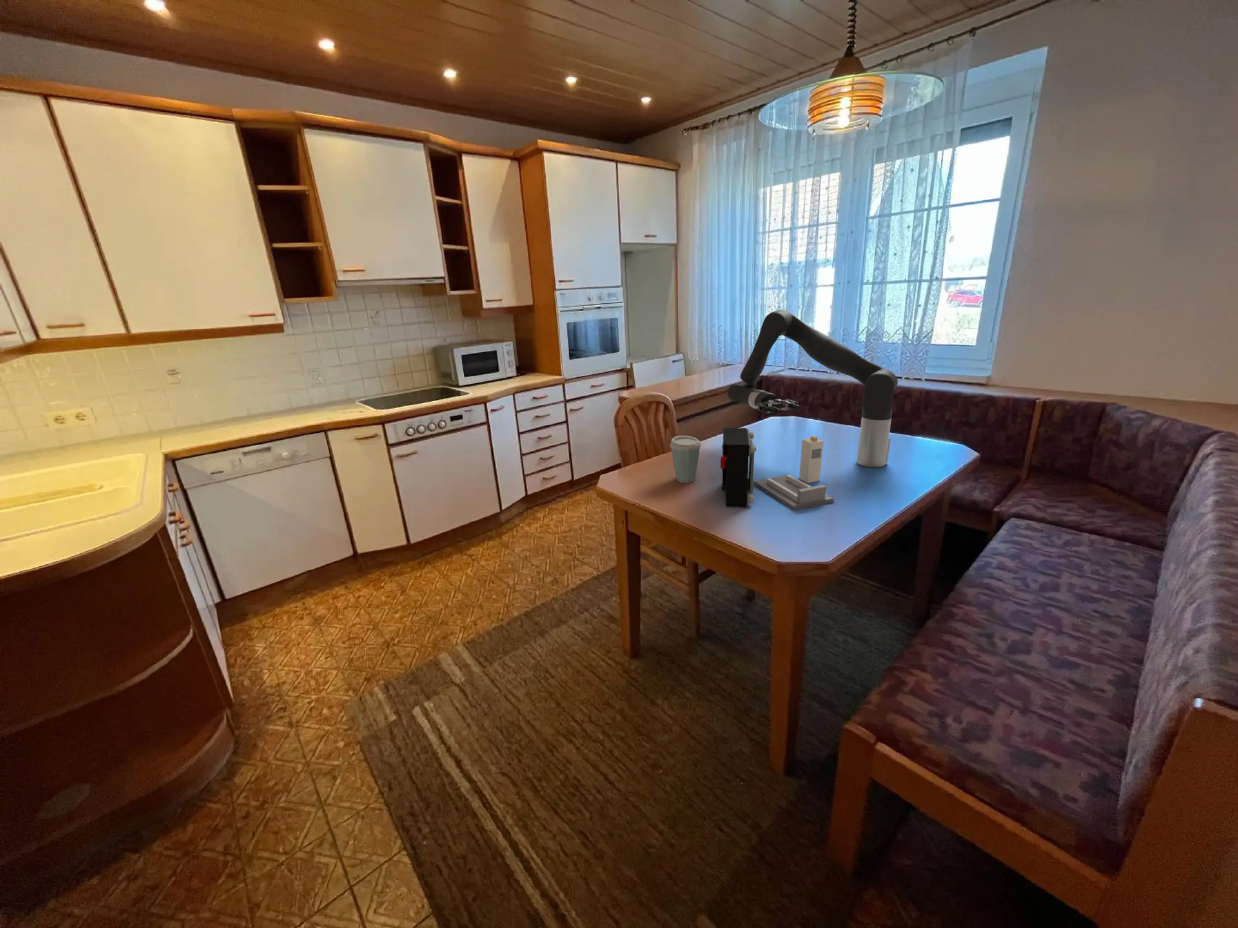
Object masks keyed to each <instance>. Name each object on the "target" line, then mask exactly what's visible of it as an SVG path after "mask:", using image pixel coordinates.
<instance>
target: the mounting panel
mask: <svg viewBox="0 0 1238 928" xmlns="http://www.w3.org/2000/svg"><path fill="white" fill-rule="evenodd" d="M753 486H756V487H757V488H759V489H760V490H762V491H763V492H765V493H767V494H768V495H769V496H771V497H772V498H775V499H776V501H777V500H778V501H779V502H781V503H782V504H784V505H785V506H787V507H789V508H790V509H791V510H792V511H795V510H800V509H805V508H806V509H807V508H810V507H816V506H820V505H826V504H831V503H834V501H835V500H834V499H835V498H833V497H832V496H830V495H828V494H827V486H825V485H824V484H821V485H814V486H812V485H810V484H809V483H807V482H805V481H803V480H801V479H799V478H797V477H795V476H793V475H792V474H786V475H780V476H774V477H768V478H763V479H758V480H757V479H756V480H753Z"/></svg>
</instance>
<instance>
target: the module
mask: <svg viewBox="0 0 1238 928" xmlns="http://www.w3.org/2000/svg"><path fill="white" fill-rule="evenodd" d="M823 449H824V440H822V439H819V438H818V436H815V435H812V436H810V437H809V438H802V440H801V451H800V463H799V464H800V465H799V478H798V479H799V480H801V481H802V482H804V483H806V484H809V483H813V482H814V483H815V482H820V481H821V480H820V479H821V472H822V471H821V470H822V461H823V459H822V458H823Z"/></svg>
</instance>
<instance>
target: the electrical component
mask: <svg viewBox="0 0 1238 928" xmlns="http://www.w3.org/2000/svg"><path fill="white" fill-rule="evenodd" d="M722 429H723V430H722V431H723V432H722V446H721V449H722V456H720V462H719V463H720V465H719V466H720V467H719V468H720V469H721V471H722V475H721V484H720V486H721V490H722V491H725V507H726V508H745V509H746V508H748V507H750V506H749V505H750V504H754V503H755V497H754V495H753V492H754V491H753V490H754V489H753V488H754V468H755V453H756V452H757V446H756V445H754V443H753V439H754V438H755V436H754V435H755V434H754V432H753V431H752V432H751V431H750V430H749V428H747V427H723V428H722Z"/></svg>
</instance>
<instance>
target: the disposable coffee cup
mask: <svg viewBox="0 0 1238 928" xmlns="http://www.w3.org/2000/svg"><path fill="white" fill-rule="evenodd" d="M669 448H670V451H671V456H672V462H673V468H674V472H675V473H674V474H675V478H676V480H677V481H678V482H680V483H682V484H688V483H689V484H690V483H692V482H694V481H695V479H696V475H697V470H698V469H697V468H698V463H699V456H700V449H701V440H699V439H698V438H696V437H694V436H690V435H676V436H674V437H672V438H671V441H670V443H669Z"/></svg>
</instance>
